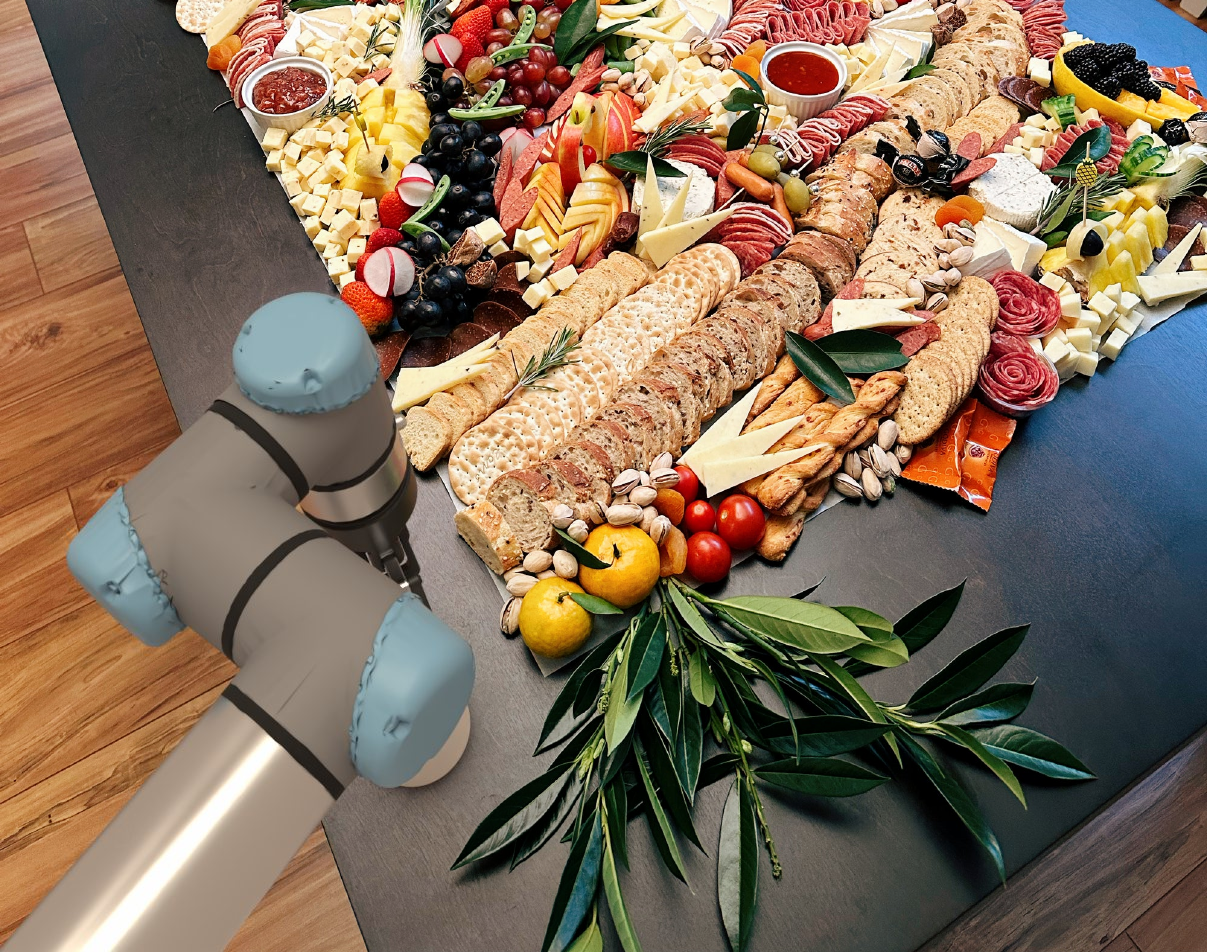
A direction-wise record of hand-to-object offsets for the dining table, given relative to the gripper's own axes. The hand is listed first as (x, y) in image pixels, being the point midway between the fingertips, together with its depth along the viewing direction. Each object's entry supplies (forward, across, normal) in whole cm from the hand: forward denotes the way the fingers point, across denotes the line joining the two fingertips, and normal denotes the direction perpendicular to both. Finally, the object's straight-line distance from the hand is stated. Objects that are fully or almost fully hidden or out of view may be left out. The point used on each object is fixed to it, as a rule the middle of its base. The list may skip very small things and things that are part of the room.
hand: (407, 610), depth 90 cm
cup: (+28, +2, +3) cm, 28 cm away
